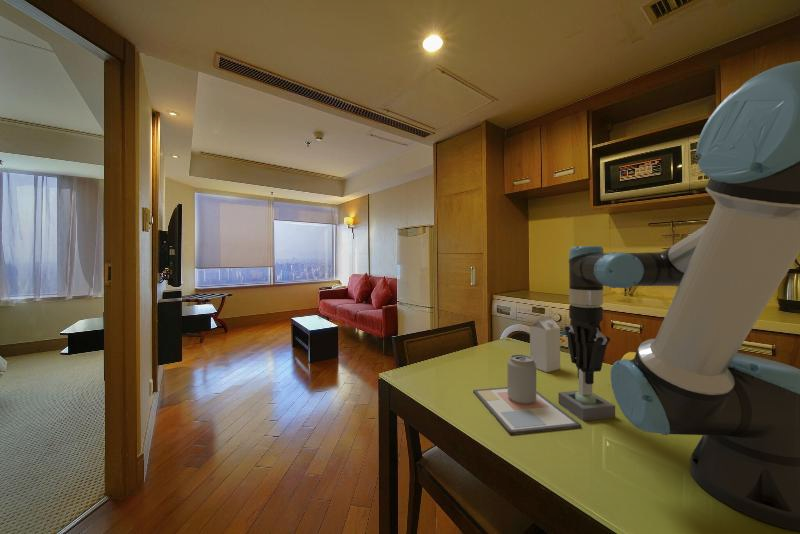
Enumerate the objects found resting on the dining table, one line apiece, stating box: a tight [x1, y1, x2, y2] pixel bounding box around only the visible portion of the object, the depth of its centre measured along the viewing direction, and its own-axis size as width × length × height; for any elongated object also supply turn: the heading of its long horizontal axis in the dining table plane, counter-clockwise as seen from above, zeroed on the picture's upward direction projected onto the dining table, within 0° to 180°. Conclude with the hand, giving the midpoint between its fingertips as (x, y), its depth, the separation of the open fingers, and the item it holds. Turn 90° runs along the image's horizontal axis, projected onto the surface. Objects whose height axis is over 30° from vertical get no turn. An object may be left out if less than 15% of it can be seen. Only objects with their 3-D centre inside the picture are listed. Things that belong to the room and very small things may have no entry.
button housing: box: [557, 390, 616, 422], centre depth 78 cm, size 9×9×3 cm
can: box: [506, 353, 537, 405], centre depth 83 cm, size 8×8×12 cm
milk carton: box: [529, 314, 561, 373], centre depth 108 cm, size 7×7×19 cm
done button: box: [575, 390, 596, 405], centre depth 78 cm, size 5×5×3 cm
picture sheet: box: [472, 386, 582, 436], centre depth 80 cm, size 22×18×1 cm
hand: (585, 393), depth 78 cm, fingers closed
